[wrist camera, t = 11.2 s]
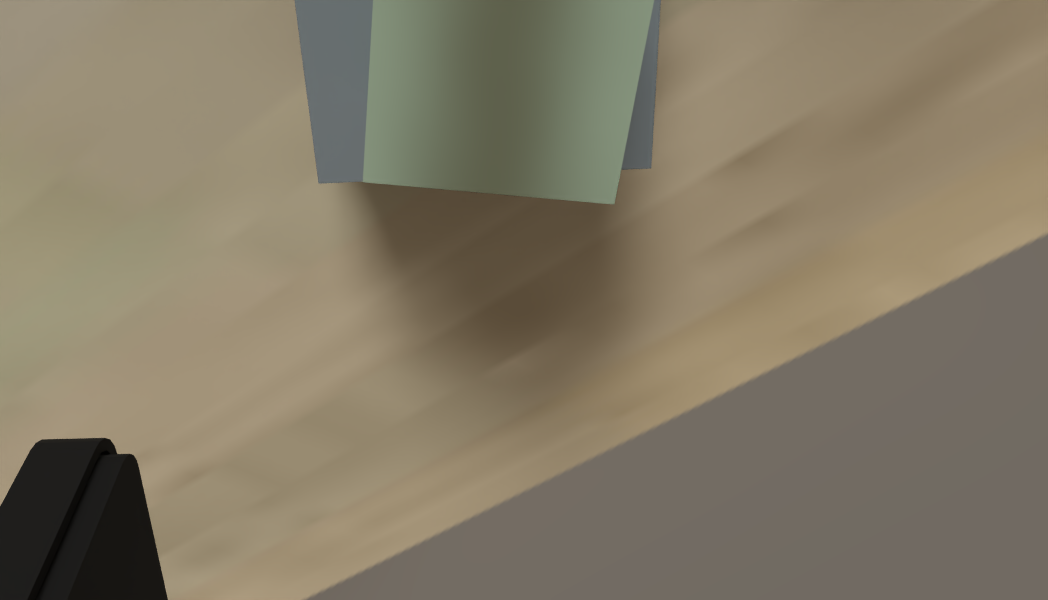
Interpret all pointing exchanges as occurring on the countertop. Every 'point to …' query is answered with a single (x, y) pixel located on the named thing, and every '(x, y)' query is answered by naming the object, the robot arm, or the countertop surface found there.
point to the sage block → (503, 95)
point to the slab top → (343, 73)
